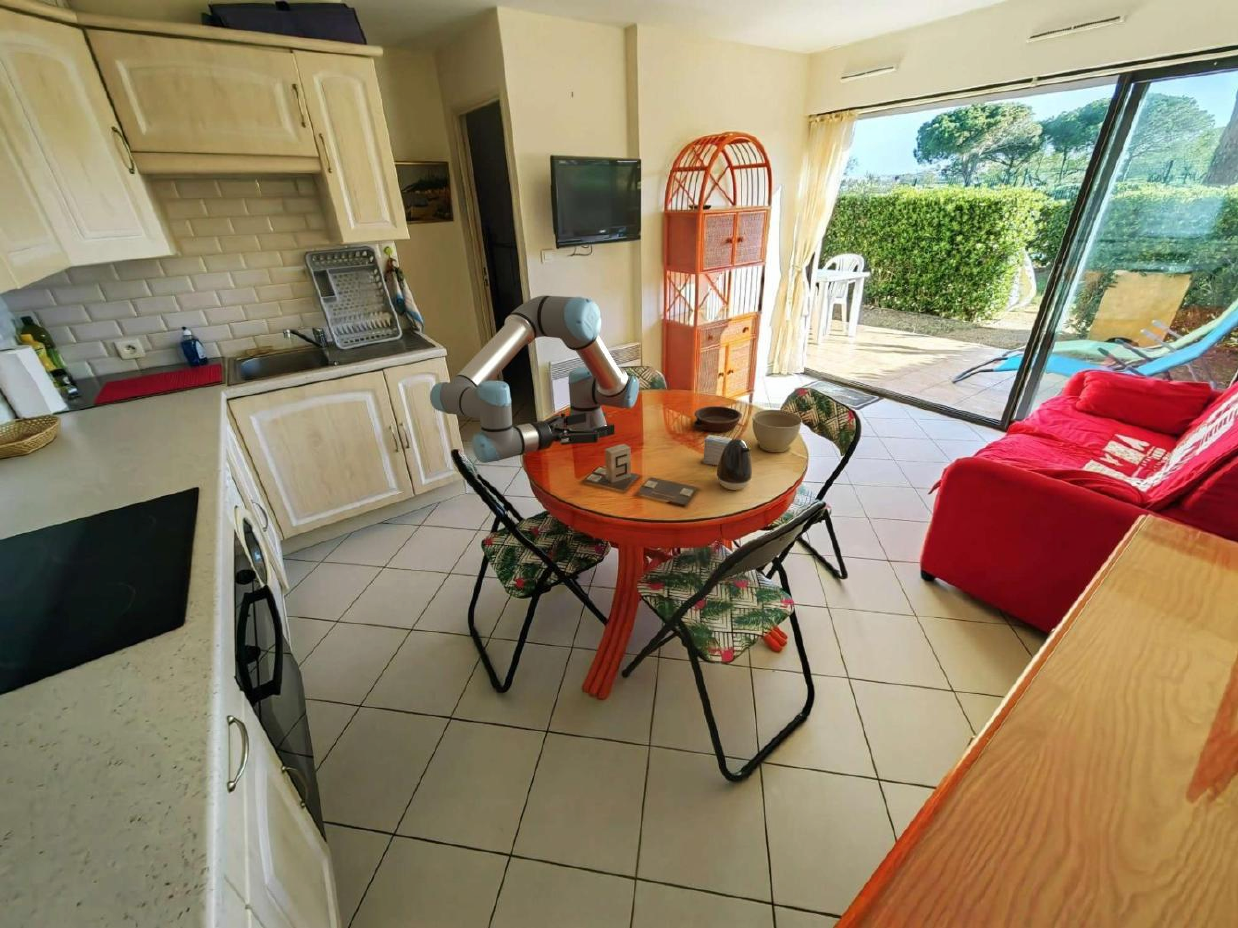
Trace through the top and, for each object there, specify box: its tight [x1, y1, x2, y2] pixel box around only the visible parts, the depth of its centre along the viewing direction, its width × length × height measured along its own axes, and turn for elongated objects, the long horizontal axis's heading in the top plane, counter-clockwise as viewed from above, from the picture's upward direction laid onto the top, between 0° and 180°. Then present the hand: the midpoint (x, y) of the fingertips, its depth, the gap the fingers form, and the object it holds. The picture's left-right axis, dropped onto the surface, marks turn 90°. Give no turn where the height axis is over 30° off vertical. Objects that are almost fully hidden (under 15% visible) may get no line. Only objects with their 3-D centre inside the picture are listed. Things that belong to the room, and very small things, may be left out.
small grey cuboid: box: [604, 443, 632, 483], centre depth 155 cm, size 4×7×10 cm, turn 124°
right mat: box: [636, 476, 698, 508], centre depth 149 cm, size 15×11×1 cm
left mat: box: [582, 466, 640, 492], centre depth 157 cm, size 14×11×1 cm
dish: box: [692, 405, 743, 433], centre depth 194 cm, size 18×22×5 cm
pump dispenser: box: [716, 438, 753, 491], centre depth 149 cm, size 10×10×15 cm
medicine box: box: [702, 434, 733, 466], centre depth 165 cm, size 8×4×9 cm, turn 65°
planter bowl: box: [751, 409, 803, 453], centre depth 174 cm, size 16×16×11 cm
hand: (599, 422), depth 145 cm, fingers open, 13 cm apart
